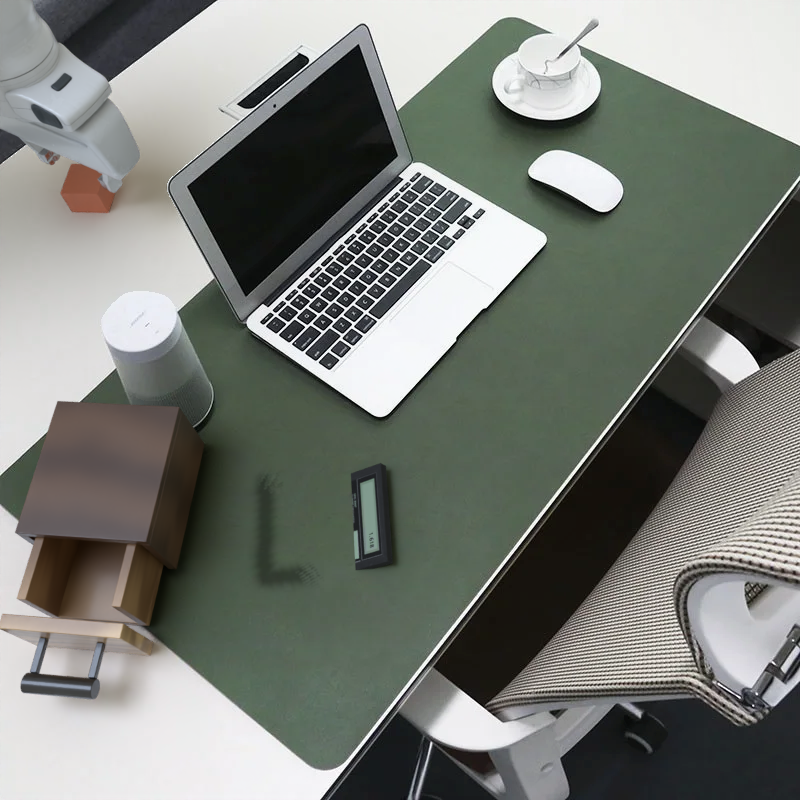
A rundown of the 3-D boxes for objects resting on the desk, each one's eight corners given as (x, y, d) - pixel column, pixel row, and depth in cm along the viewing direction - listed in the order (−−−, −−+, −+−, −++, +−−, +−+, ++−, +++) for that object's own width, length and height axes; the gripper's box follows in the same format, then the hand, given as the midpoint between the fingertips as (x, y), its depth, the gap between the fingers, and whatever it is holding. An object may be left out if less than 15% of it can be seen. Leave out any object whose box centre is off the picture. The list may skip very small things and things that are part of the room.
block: (76, 219, 98) (59, 193, 94) (86, 190, 100) (70, 163, 97) (113, 220, 98) (97, 194, 94) (122, 191, 100) (107, 164, 96)
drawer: (139, 710, 71) (105, 696, 64) (24, 699, 72) (-21, 684, 65) (180, 530, 78) (153, 502, 71) (75, 523, 79) (39, 495, 73)
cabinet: (180, 573, 77) (146, 541, 69) (62, 564, 78) (14, 532, 70) (208, 448, 83) (179, 406, 75) (97, 442, 84) (57, 400, 76)
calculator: (267, 487, 80) (260, 475, 78) (388, 475, 80) (385, 462, 77) (267, 583, 76) (260, 573, 73) (395, 570, 75) (392, 560, 73)
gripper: (-72, 64, 85) (-2, 162, 97) (78, 126, 78) (132, 223, 90) (-29, 25, 87) (34, 126, 99) (120, 83, 81) (167, 183, 93)
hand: (82, 173), depth 95 cm, fingers open, 8 cm apart
